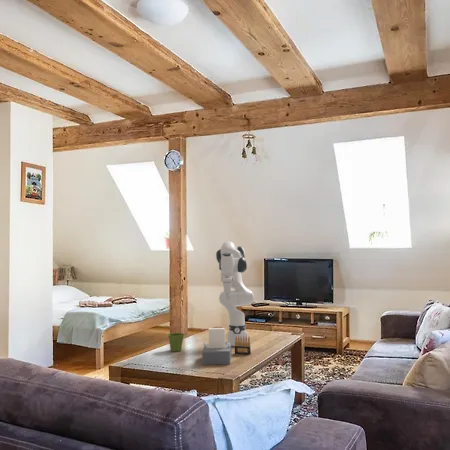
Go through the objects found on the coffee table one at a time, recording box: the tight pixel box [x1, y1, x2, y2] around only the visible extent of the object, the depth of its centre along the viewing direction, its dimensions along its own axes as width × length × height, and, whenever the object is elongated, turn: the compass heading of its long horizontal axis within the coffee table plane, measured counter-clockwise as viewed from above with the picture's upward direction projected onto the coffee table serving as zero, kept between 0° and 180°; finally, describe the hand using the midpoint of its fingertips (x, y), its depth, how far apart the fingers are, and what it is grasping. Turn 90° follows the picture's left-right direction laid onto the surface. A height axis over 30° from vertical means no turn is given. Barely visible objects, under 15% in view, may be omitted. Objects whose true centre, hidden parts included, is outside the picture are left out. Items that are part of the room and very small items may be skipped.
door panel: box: [208, 327, 226, 348], centre depth 321 cm, size 3×10×12 cm, turn 88°
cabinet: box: [201, 342, 232, 365], centre depth 320 cm, size 21×17×11 cm
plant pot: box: [167, 332, 185, 352], centre depth 351 cm, size 12×12×11 cm
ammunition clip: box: [234, 335, 252, 356], centre depth 338 cm, size 11×2×12 cm, turn 73°
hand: (227, 299), depth 331 cm, fingers open, 8 cm apart
